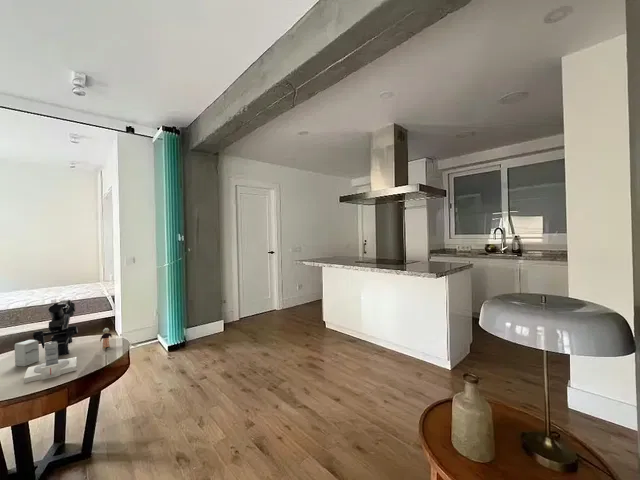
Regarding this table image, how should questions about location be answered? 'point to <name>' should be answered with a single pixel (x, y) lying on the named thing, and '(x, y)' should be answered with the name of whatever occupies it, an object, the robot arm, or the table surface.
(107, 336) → the grandmother figurine
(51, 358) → the steel spacer stack
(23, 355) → the supplement box
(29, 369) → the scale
